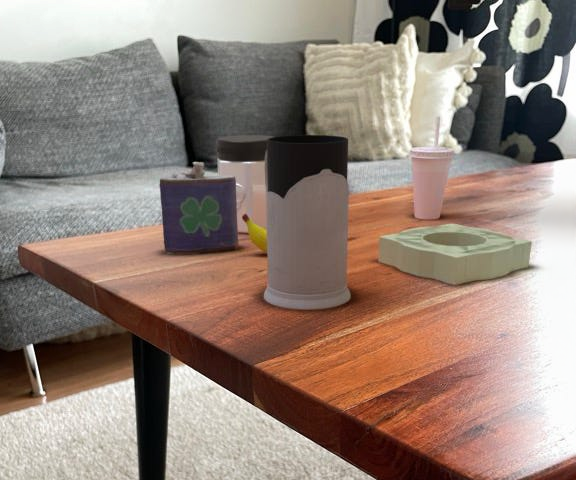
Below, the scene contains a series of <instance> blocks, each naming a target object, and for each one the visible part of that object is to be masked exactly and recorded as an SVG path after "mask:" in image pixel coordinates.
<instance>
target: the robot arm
mask: <svg viewBox="0 0 576 480" xmlns="http://www.w3.org/2000/svg"><path fill="white" fill-rule="evenodd" d="M481 1H482V0H448V2H447V8H448V9H449V10H471V9H472V8H473V5H474V6H475V5H480V4H481Z"/></svg>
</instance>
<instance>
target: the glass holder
mask: <svg viewBox="0 0 576 480" xmlns="http://www.w3.org/2000/svg"><path fill="white" fill-rule="evenodd" d="M348 163H349V138H348V137H344V136H339V135H324V134H295V135H294V134H293V135H280V136H272V138H268V139H267V151H266V154H265V166H264V170H265V186H266V215H267V252H266V253H267V254H266V255H267V256H266V257H267V258H266V260H267V285H266V288H265V290H264V293H263V299H264V301H266V302H267V303H269V304H271V305H273V306H276V307H278V308H279V307H280V308H283V309H289V310H290V309H291V310H302V311H304V310H305V311H306V310H307V311H310V310H312V311H314V310H324V309H325V310H326V309H330V308H335V307H339V306H341V305H344V304H346V303H347V302H349V301H350V300H351V297H352V296H351V291H350V289H349V288H348V283H347V280H348V279H347V275H348V244H349V243H348V242H349V240H348V239H349V203H350V202H349V200H350V189H349V183H348V172H349V171H348V170H349V169H348V167H349V166H348V165H349V164H348Z"/></svg>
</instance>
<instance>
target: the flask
mask: <svg viewBox="0 0 576 480" xmlns="http://www.w3.org/2000/svg"><path fill="white" fill-rule="evenodd" d="M204 163H205V162H203V161H202V162H201V161H200V162H199V161H194V162H193V161H192V165H193V167H192V169H191V170H190V171H188V172H180V173H176V172H173V173H172V174H171V176H164V177H163V176H162V177H161V178H159V184H158V185H159V186H158V187H159V192H160V193H159V194H160V196H159V199H160V205H161V217H162V218H161V219H162V230H163V231H162V235H163V245H164V250H165V254H166V255H197V254H203V253H208V254H210V253H219V252H230V251H236V250H238V249H239V233H238V226H237V201H236V180H235V179H236V178H235V176H233V175H218V174H217V175H205V173H206V171H205V170H204V168H203V167H205V164H204ZM180 174H181V175H182V176H181V175H180Z"/></svg>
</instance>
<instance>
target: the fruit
mask: <svg viewBox="0 0 576 480" xmlns="http://www.w3.org/2000/svg"><path fill="white" fill-rule="evenodd" d="M242 219H243V220H244V221H245V222H246V224H247V226H248V232H249V233H248V237H249V239H250V241H251V243H252V244H253V245H254V246H255V247H256V248H258V249H259V250H261V251H262V252H265V253H267V230H265V229H263V228H262V227H260V226H258V225H256V224H254V223H253V222H252V221H251V220H250V219H249V217H248V216H247V214H244V215H243V216H242Z"/></svg>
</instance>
